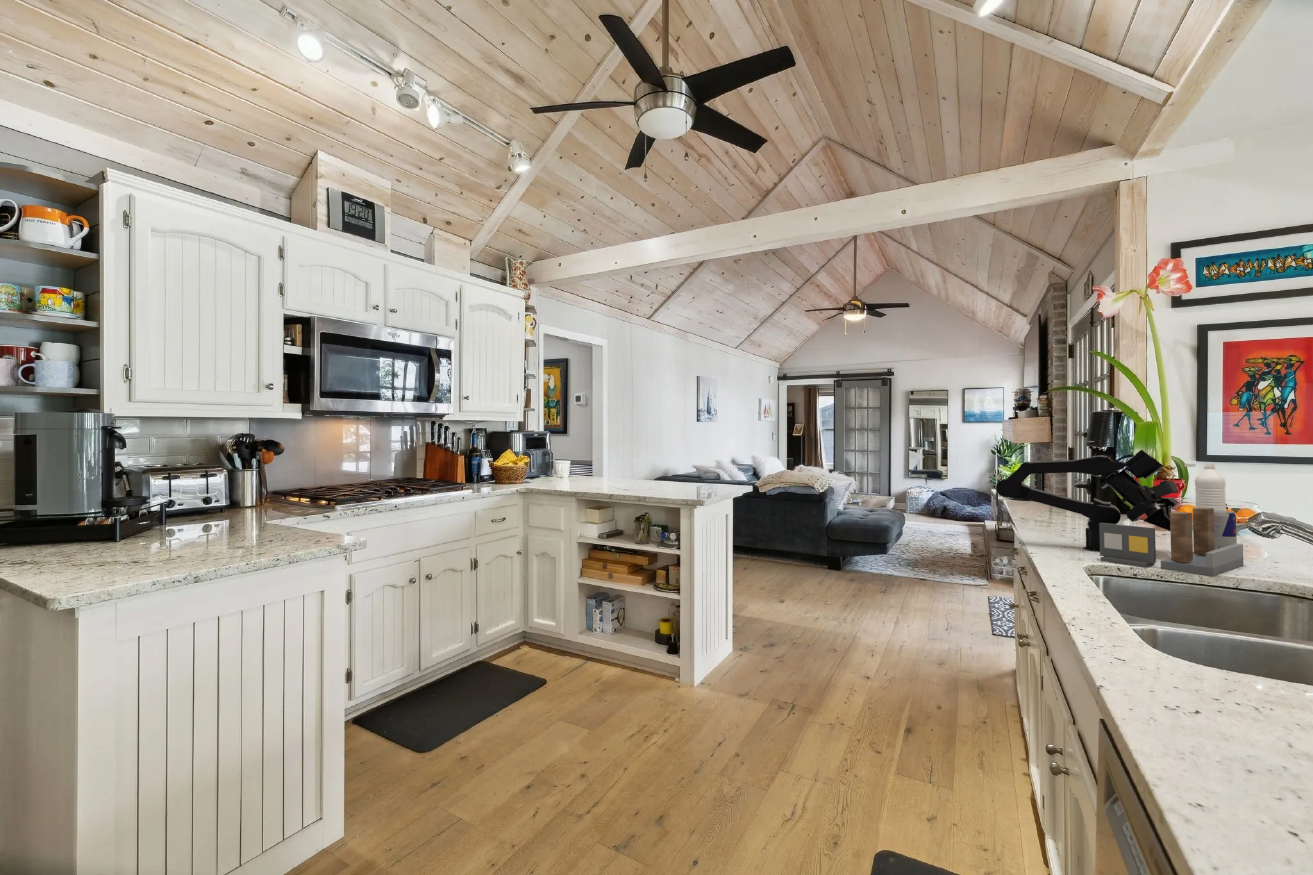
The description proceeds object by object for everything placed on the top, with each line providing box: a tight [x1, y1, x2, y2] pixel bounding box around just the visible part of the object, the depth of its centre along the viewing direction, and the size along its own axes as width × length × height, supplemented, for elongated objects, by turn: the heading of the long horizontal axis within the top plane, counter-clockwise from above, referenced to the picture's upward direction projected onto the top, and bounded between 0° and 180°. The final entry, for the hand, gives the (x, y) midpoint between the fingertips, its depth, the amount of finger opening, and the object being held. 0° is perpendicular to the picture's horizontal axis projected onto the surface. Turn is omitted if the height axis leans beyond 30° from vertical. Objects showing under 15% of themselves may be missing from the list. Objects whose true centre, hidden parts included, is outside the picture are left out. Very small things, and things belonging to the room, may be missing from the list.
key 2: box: [1192, 507, 1215, 555], centre depth 153 cm, size 3×4×12 cm
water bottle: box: [1184, 462, 1227, 511], centre depth 170 cm, size 9×6×25 cm
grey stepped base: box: [1160, 543, 1244, 577], centre depth 148 cm, size 10×20×6 cm, turn 120°
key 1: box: [1169, 511, 1194, 563], centre depth 146 cm, size 3×4×12 cm
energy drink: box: [1214, 510, 1238, 550], centre depth 161 cm, size 5×5×12 cm
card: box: [1099, 523, 1157, 569], centre depth 154 cm, size 12×5×10 cm, turn 30°
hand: (1180, 533), depth 157 cm, fingers closed
